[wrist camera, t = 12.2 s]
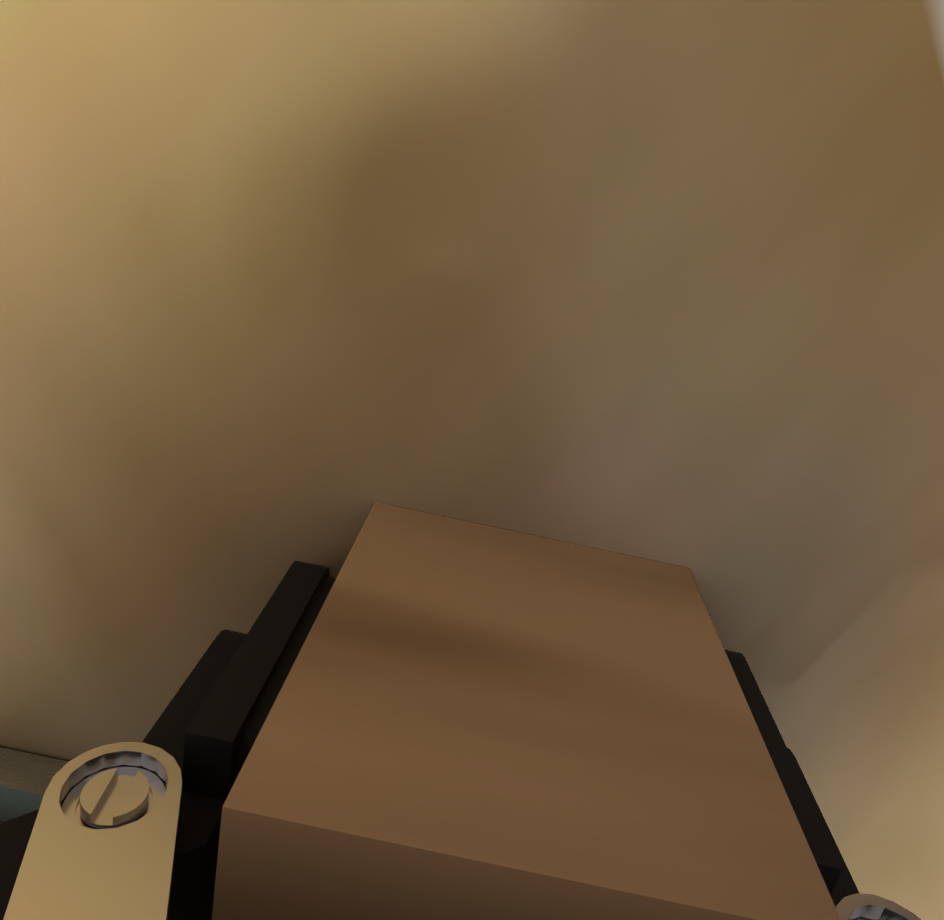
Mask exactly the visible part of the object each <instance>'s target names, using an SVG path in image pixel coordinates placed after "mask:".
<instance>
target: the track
mask: <svg viewBox="0 0 944 920" xmlns="http://www.w3.org/2000/svg"><path fill="white" fill-rule="evenodd" d="M68 762H69V761H64V760H60V759H55V758H50V757H45V756H40V755H36V754H31V753H26V752H21V751H16V750H12V749H7V748H2V747H0V823H3V822H5V821H8V820H11V819H13V818H16V817H19V816H22V815H24V814H27V813H30V812H32V811H35V810H38V809H40V805H41V802H42V799H43V796H44V793H45V791H46V789H47V787H48V785H49V784H50V782H51V780H52V778H53V776H54V775H55V774H56V773H57V772H58V771H59V770H60V769H61V768H62V767H63V766H64V765H65V764H66V763H68Z"/></svg>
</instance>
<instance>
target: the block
mask: <svg viewBox="0 0 944 920" xmlns="http://www.w3.org/2000/svg"><path fill="white" fill-rule="evenodd" d="M212 920H841V919H840V917H839V914H838V912H837V910H836V907H835V905H834V903H833V900H832V898H831V896H830V894H829V891H828V889H827V887H826V884H825V882H824V880H823V877H822V875H821V873H820V870H819V868H818V866H817V863H816V861H815V859H814V856H813V854H812V852H811V849H810V847H809V845H808V842H807V840H806V838H805V836H804V833H803V831H802V829H801V826H800V824H799V822H798V819H797V817H796V815H795V812H794V810H793V808H792V805H791V803H790V801H789V798H788V796H787V794H786V791H785V789H784V787H783V784H782V782H781V780H780V778H779V775H778V773H777V771H776V768H775V766H774V764H773V761H772V759H771V757H770V754H769V752H768V750H767V747H766V745H765V743H764V740H763V738H762V736H761V733H760V731H759V729H758V727H757V724H756V722H755V720H754V717H753V715H752V713H751V710H750V708H749V706H748V703H747V701H746V699H745V696H744V694H743V692H742V689H741V687H740V685H739V682H738V680H737V678H736V675H735V673H734V671H733V669H732V666H731V664H730V662H729V659H728V657H727V655H726V652H725V650H724V648H723V645H722V643H721V641H720V638H719V636H718V634H717V631H716V629H715V627H714V624H713V622H712V620H711V617H710V615H709V613H708V611H707V608H706V606H705V604H704V601H703V599H702V597H701V594H700V592H699V590H698V587H697V585H696V583H695V580H694V578H693V576H692V573H691V571H690V569H689V568H686V567H681V566H676V565H672V564H667V563H662V562H657V561H653V560H648V559H643V558H638V557H634V556H629V555H624V554H619V553H615V552H610V551H605V550H600V549H596V548H591V547H586V546H581V545H577V544H572V543H567V542H562V541H558V540H553V539H548V538H544V537H539V536H534V535H529V534H525V533H520V532H515V531H510V530H506V529H501V528H496V527H491V526H487V525H482V524H477V523H472V522H468V521H463V520H458V519H453V518H449V517H444V516H439V515H434V514H430V513H425V512H420V511H415V510H411V509H406V508H401V507H396V506H392V505H387V504H382V503H377V502H374V504H373V506H372V508H371V510H370V512H369V514H368V516H367V518H366V520H365V522H364V524H363V526H362V528H361V530H360V532H359V534H358V536H357V538H356V540H355V542H354V544H353V546H352V548H351V550H350V552H349V554H348V556H347V558H346V560H345V562H344V564H343V566H342V568H341V570H340V572H339V574H338V576H337V578H336V580H335V582H334V584H333V586H332V588H331V590H330V592H329V594H328V596H327V598H326V600H325V602H324V604H323V606H322V608H321V610H320V612H319V614H318V616H317V618H316V620H315V622H314V624H313V626H312V628H311V630H310V632H309V634H308V636H307V638H306V640H305V642H304V644H303V646H302V648H301V650H300V652H299V654H298V656H297V658H296V660H295V662H294V664H293V666H292V668H291V670H290V672H289V674H288V676H287V678H286V680H285V682H284V684H283V686H282V688H281V690H280V692H279V694H278V696H277V698H276V700H275V702H274V704H273V706H272V708H271V710H270V712H269V714H268V716H267V718H266V720H265V722H264V724H263V726H262V728H261V730H260V732H259V734H258V736H257V738H256V740H255V742H254V744H253V746H252V748H251V750H250V752H249V754H248V756H247V758H246V760H245V762H244V764H243V766H242V768H241V770H240V772H239V774H238V776H237V778H236V780H235V782H234V784H233V787H232V789H231V791H230V793H229V795H228V797H227V799H226V801H225V803H224V805H223V807H222V815H221V826H220V836H219V847H218V858H217V868H216V879H215V890H214V900H213V911H212Z"/></svg>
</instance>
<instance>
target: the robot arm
mask: <svg viewBox="0 0 944 920" xmlns="http://www.w3.org/2000/svg"><path fill="white" fill-rule="evenodd" d="M329 574H330V571H329V567H324V566H319V565H315V564H310V563H305V562H300V561H294V563H293V564H292V565H291V567H290V569H289V570H288V572H287V573H286V575H285V576H284V578H283V580H282V581H281V583H280V584H279V586H278V587H277V589H276V591H275V592H274V594H273V595H272V597H271V598H270V600H269V601H268V603H267V605H266V606H265V608H264V609H263V611H262V612H261V614H260V616H259V617H258V619H257V620H256V622H255V623H254V625H253V627H252V628H251V630H250V631H249V633H248V634H244V633H239V632H234V631H230V630H224V631H221V632H220V633H219V635H218V636H217V637H216V638H215V640H214V641H213V642H212V644H211V645H210V647H209V648H208V650H207V651H206V652H205V654H204V655H203V657H202V658H201V659H200V661H199V662H198V664H197V665H196V667H195V668H194V669H193V671H192V672H191V674H190V675H189V677H188V678H187V679H186V681H185V682H184V684H183V685H182V686H181V688H180V689H179V691H178V692H177V694H176V695H175V696H174V698H173V699H172V701H171V702H170V703H169V705H168V706H167V708H166V709H165V711H164V712H163V713H162V715H161V716H160V718H159V719H158V721H157V722H156V723H155V725H154V726H153V728H152V729H151V730H150V732H149V733H148V735H147V736H146V738H145V739H144V740H143V742H142V743H139V742H120V743H113V744H106V745H103V746H100V747H97V748H94V749H92V750H89V751H86V752H84V753H82V754H81V755H79V756H77V757H76V758H74V759H72V760H71V761H69V762H68V763H66V764H65V765H64V766H63V767H62V768H61V769H60V770H59V771H58V772H57V773H56V774H55V775H54V776H53V778H52V780H51V782H50V784H49V785H48V787H47V789H46V791H45V793H44V796H43V799H42V802H41V805H40V809H38V810H35V811H32V812H30V813H27V814H24V815H22V816H19V817H16V818H13V819H11V820H8V821H5V822H3V823H0V920H212V911H213V900H214V890H215V879H216V868H217V858H218V847H219V836H220V826H221V815H222V807H223V805H224V803H225V801H226V799H227V797H228V795H229V793H230V791H231V789H232V787H233V784H234V782H235V780H236V778H237V776H238V774H239V772H240V770H241V768H242V766H243V764H244V762H245V760H246V758H247V756H248V754H249V752H250V750H251V748H252V746H253V744H254V742H255V740H256V738H257V736H258V734H259V732H260V730H261V728H262V726H263V724H264V722H265V720H266V718H267V716H268V714H269V712H270V710H271V708H272V706H273V704H274V702H275V700H276V698H277V696H278V694H279V692H280V690H281V688H282V686H283V684H284V682H285V680H286V678H287V676H288V674H289V672H290V670H291V668H292V666H293V664H294V662H295V660H296V658H297V656H298V654H299V652H300V650H301V648H302V646H303V644H304V642H305V640H306V638H307V636H308V634H309V632H310V630H311V628H312V626H313V624H314V622H315V620H316V618H317V616H318V614H319V612H320V610H321V608H322V606H323V604H324V602H325V600H326V598H327V596H328V594H329V592H330V590H331V588H332V586H333V584H334V582H335V580H336V578H333V577H329ZM725 652H726V655H727V657H728V659H729V662H730V664H731V666H732V669H733V671H734V673H735V675H736V678H737V680H738V682H739V685H740V687H741V689H742V692H743V694H744V696H745V699H746V701H747V703H748V706H749V708H750V710H751V713H752V715H753V717H754V720H755V722H756V724H757V727H758V729H759V731H760V733H761V736H762V738H763V740H764V743H765V745H766V747H767V750H768V752H769V754H770V757H771V759H772V761H773V764H774V766H775V768H776V771H777V773H778V775H779V778H780V780H781V782H782V784H783V787H784V789H785V791H786V794H787V796H788V798H789V801H790V803H791V805H792V808H793V810H794V812H795V815H796V817H797V819H798V822H799V824H800V826H801V829H802V831H803V833H804V836H805V838H806V840H807V842H808V845H809V847H810V849H811V852H812V854H813V856H814V859H815V861H816V863H817V866H818V868H819V870H820V873H821V875H822V877H823V880H824V882H825V884H826V887H827V889H828V891H829V894H830V896H831V898H832V900H833V903H834V905H835V907H836V910H837V912H838V914H839V917H840V919H841V920H921V919H920V918H918V917H917V916H916V915H915V914H913V913H912V912H910V911H908V910H907V909H905V908H903V907H901V906H900V905H898V904H896V903H894V902H893V901H890V900H887V899H884V898H881V897H879V896H876V895H870V894H860V893H859V891H858V889H857V887H856V885H855V883H854V881H853V879H852V877H851V875H850V872H849V870H848V868H847V866H846V864H845V862H844V860H843V858H842V855H841V853H840V851H839V849H838V847H837V845H836V843H835V841H834V839H833V836H832V834H831V832H830V830H829V828H828V826H827V824H826V822H825V819H824V817H823V815H822V813H821V811H820V809H819V807H818V805H817V803H816V800H815V798H814V796H813V794H812V792H811V790H810V788H809V786H808V783H807V781H806V779H805V777H804V775H803V773H802V771H801V769H800V767H799V764H798V762H797V760H796V758H795V756H794V755H793V753H792V752H791V750H790V749H788V748H787V747H786V745H785V743H784V741H783V739H782V737H781V734H780V732H779V730H778V728H777V726H776V724H775V722H774V719H773V717H772V715H771V713H770V711H769V709H768V706H767V704H766V702H765V700H764V698H763V696H762V694H761V691H760V689H759V687H758V685H757V683H756V681H755V679H754V676H753V674H752V672H751V670H750V668H749V666H748V664H747V661H746V659H745V657H744V656H743V654H741V653H738V652H733V651H728V650H725Z"/></svg>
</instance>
